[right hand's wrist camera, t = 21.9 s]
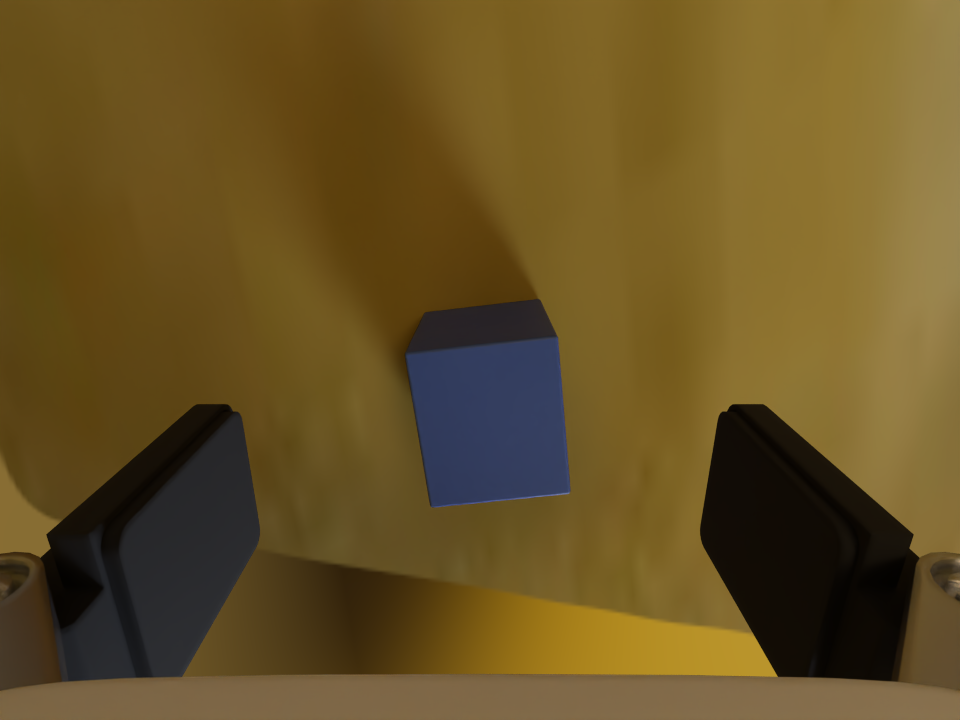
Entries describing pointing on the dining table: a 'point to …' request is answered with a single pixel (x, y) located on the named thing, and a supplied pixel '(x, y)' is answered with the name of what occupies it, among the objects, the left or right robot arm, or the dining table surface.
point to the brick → (489, 404)
